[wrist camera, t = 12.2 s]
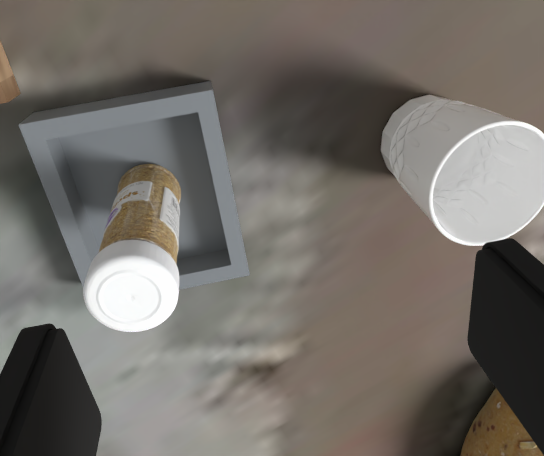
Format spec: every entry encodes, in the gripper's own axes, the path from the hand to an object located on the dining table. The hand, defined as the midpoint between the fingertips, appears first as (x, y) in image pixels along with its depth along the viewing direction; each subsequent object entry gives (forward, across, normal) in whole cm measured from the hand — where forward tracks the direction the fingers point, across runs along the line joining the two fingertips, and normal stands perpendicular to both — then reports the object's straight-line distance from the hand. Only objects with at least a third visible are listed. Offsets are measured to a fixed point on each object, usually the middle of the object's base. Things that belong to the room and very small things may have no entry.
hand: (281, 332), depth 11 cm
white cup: (+26, -14, +6) cm, 30 cm away
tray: (+25, +7, +7) cm, 27 cm away
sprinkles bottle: (+25, +6, +7) cm, 27 cm away
